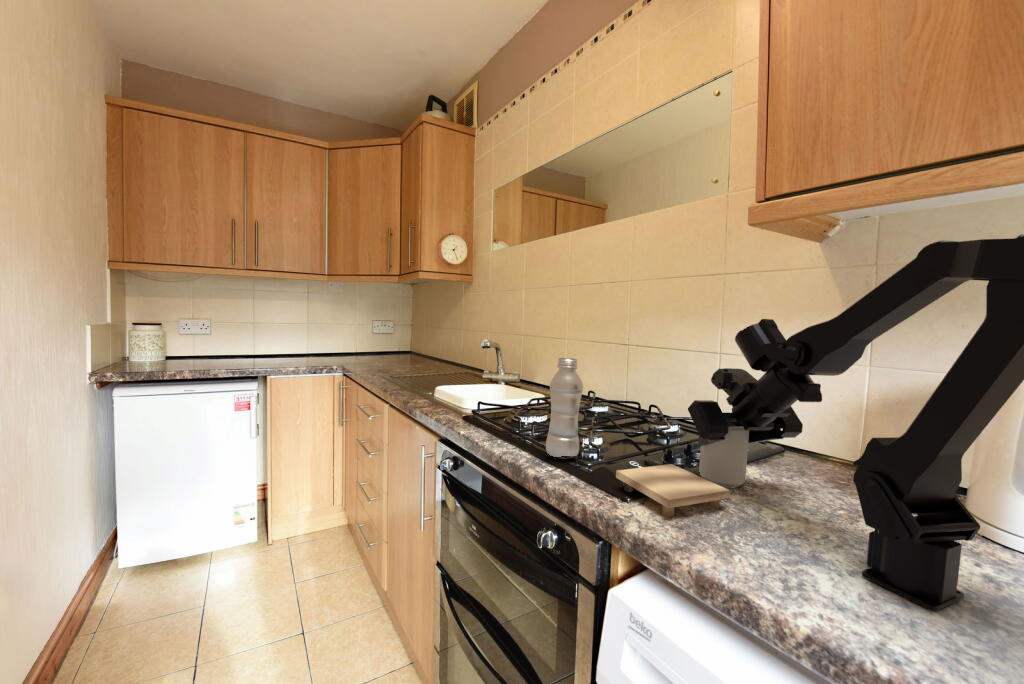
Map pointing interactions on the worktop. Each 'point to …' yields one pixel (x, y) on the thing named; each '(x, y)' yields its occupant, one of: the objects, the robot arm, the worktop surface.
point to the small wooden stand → (673, 486)
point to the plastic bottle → (564, 410)
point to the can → (726, 459)
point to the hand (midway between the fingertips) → (718, 442)
